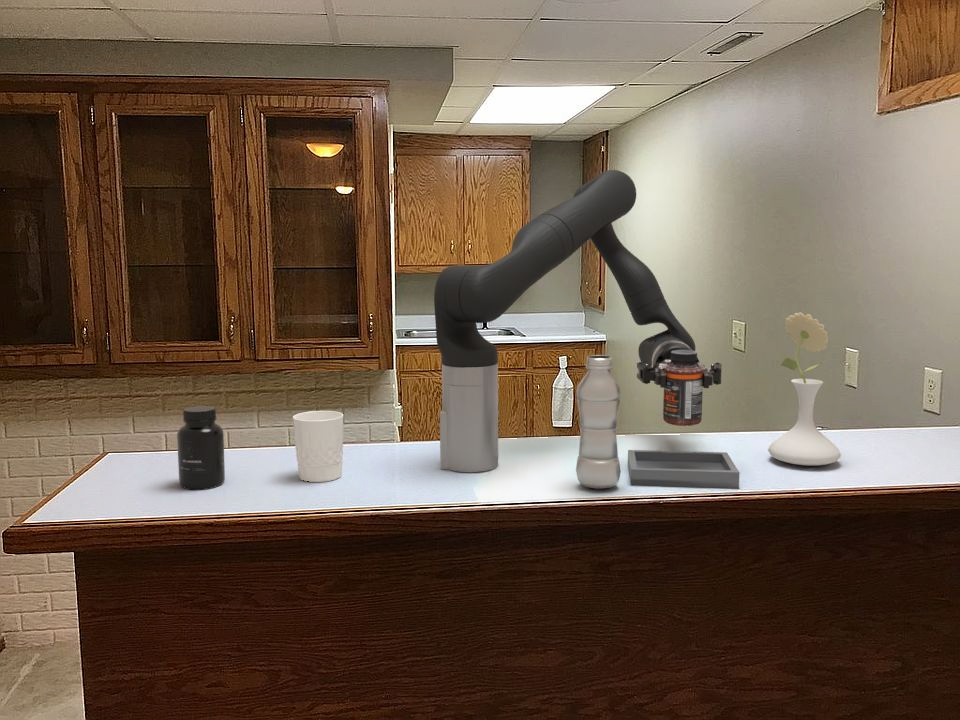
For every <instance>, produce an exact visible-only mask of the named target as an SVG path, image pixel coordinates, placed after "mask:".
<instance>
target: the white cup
mask: <svg viewBox="0 0 960 720" xmlns="http://www.w3.org/2000/svg"><path fill="white" fill-rule="evenodd" d="M292 421H293V423H292V424H293V434H294V435H293V436H294V446H295V452H296V454H295V455H296V456H295V457H296V462H297V470H298V471H297V472H298V478H299V479H300V480H301V481H303V480H304V481H303V482H307V481H309V482H308V483H310V482H311V483H322V482H323V483H325V482H330V481H335V480H338V479H340V478H341V476H342V475H343V461H342V460H343V455H344V451H343V450H344V449H343V448H344V414H343V413H342V412H340V411H336V410H335V411H334V410H310V411H305V412H300V413H297V414H294V415H293V416H292Z"/></svg>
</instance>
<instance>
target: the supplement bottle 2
mask: <svg viewBox="0 0 960 720" xmlns="http://www.w3.org/2000/svg"><path fill="white" fill-rule="evenodd" d="M697 357H698V351H696V350H695V351H692V350H674V351H671V358H670V359H671V361H670V363H669V364H668V365H667V366H666V367H665V369H664V372H665V374H666V385H665V388H663V401H662V402H663V405H662V406H663V408H662V417H663V421H664V422H665V423H667V424H669V425H673V426H678V427H679V426H681V427H686V426H688V427H689V426H690V427H691V426H696V425H698V424H700V423H701V422H702V419H703V418H702V415H703V392H704V391H703V388H704V387H703V369H702V367H701V366H700V365H699V364H698V363H697Z"/></svg>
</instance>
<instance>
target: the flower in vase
mask: <svg viewBox="0 0 960 720" xmlns="http://www.w3.org/2000/svg"><path fill="white" fill-rule="evenodd" d="M784 325H785V327H784V330H785V332H786V333H788V337H789V338H790V339H792V341H793V343H794V344H795V345H797V347H796V351H795V358H794V359H793V358H791V357H790V356H786V357H785V358H784V359H783V361H782V362H781V364H780V366H782V367H785V368H787V369H789V370H791V371H796V370H797V369H798V371H799V373H800V375H801V376H800V377H801V378H794V379H791V381H790V383H792V385H793V386H794V388H795V391H796V395H797V398H798V416H797V421H796V422H795V425H793V427H792V428H791V429H789V430H788V431H786V432H785V433H782V434H781V435H780V436H779V437H777V438H776V439H775V440H774V441H772V442H771V443H770V444H769V446H768V448H767V452H768V454H769V455H770V456H771V457H772V458H775V459H776V460H779V461H781V462H784V463H787V464H792V465H799V466H827V465H830V464H832V463H836V462H837V461H838V460H839V459H840V458H841V457H842V455H841V452H840V450H839V448H838V447H837V446H836V444H834V443H833V442H832V441H831V440H830V439H829V438H828V437H827V436H825V435H824V434H823V433H822V432H821V431H819V429H818V428H817V427H816V425H815V423H814V405H815V400H816V396H817V393H818V392H819V390H820V388H821V387H822V385H823V384H824V381H823V380H820V379H814V378H805V375H804V373H806V372H809V371H811V370H814V369H815V368H817V367H818V366H820V365H821V364H822V363H823V360H821V361H820V362H819V363H818V364H816V365H812V366H810V367H807V368H805V370H804V371H802V369H801V366H800V364H799V360H798V355H799V352H800V348H801V349H805V350H806V351H807V352H811V353H815V354H816V353H817V352H822V351H823V350H827V348H828V346H827V344H828V342H829V336H828V334H829V333H828V332H827V331H825V325H824V324H822V323H820V321H819V320H818V319H817V318H813V316H812V315H811V314H810V313H807V314H806V315H805V314H804V313H802V312H801V311H799V312H795V313H794V314H792V315H788V317H786V318H785V323H784Z"/></svg>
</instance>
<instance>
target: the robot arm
mask: <svg viewBox="0 0 960 720" xmlns="http://www.w3.org/2000/svg"><path fill="white" fill-rule="evenodd" d="M636 200H637V188H636V183H634V180H633V179H632V178H631V176H629V175H628V174H627V173H625V172H623V171H620V170H618V169H617V170H616V169H610V170H606V171H605V170H604V171H603V172H601V173H599V174H597V175H596V176H595V177H593V178H591V179H590V180H589V181H588V182H586V183H584V184H583V185H581V186H580V187H578V189H576V191H575V192H574V194H573V197H571V198H570V199H567V200H565V201H563V202H561V203H559V204H557V205H554V206H553V207H551V208H550V209H547V210H546V211H543V212H542V213H540V214H539V215H537V216H536V217H534V218H533V219H532V220H530V221H528V222H527V223H526V224H524V225H523V226H522V227H520V229H519V230H518V231H517V232H516V234H515V235H514V238H513V241H512V245H511V251H510V252H509V253H508V254H506V255H504V256H502V258H500V259H498V260H496V261H494V262H492V263H489V264H484V265H477V264H475V265H474V264H473V265H470V264H469V265H468V264H466V265H465V264H464V265H463V264H461V265H460V264H457V265H456V264H454V265H450V266H446V267H445V268H444V269H442V271H441V272H440V273H439V275H438V276H437V279H436V282H435V285H434V293H433V301H434V302H433V303H434V305H433V307H434V308H433V309H434V320H435V334H436V336H435V337H436V344H437V348H438V351H439V353H440V357H441V383H442V384H441V392H442V393H441V397H442V401H441V402H442V405H441V406H442V407H441V408H442V409H441V410H440V412H439V437H440V438H439V445H440V446H439V448H440V449H439V450H440V451H439V453H440V455H439V456H440V461H439V462H440V469H442V470H443V469H444V470H450V471H454V472H461V473H477V472H485V471H486V472H487V471H491V470H493V469H496V468H497V467H498V466H499V368H498V367H499V364H498V362H499V361H498V360H499V357H498V356H499V355H498V349H497V347H496V344H495V345H494V344H493V343H491V342H490V341H489V340H487V339H486V338H484V337H483V335H481V333H480V332H479V330H478V327H477V324H486V323H491V322H493V321H496V320H497V319H498V318H500V317H501V316H502V315H503V314H505V312H507V310H509V309H510V308H511V306H512V305H514V303H515V302H517V300H519V298H520V297H522V295H523V294H524V293H525V292H527V290H528V289H529V288H530V287H532V286H533V285H535V284H536V283H537V282H538V281H540V280H541V279H542V278H543V277H545V276H546V275H547V274H549V272H551V271H552V270H554V269H556V268H557V267H558V266H559V265H561V264H562V263H563V262H565V261H566V260H567V259H569V258H570V257H571V256H572V255H573V254H574V253H576V252H577V251H578V250H579V249H580V248H581V247H582V246H583V245H585V243H587V242H588V241H589V240H590V241H592V243H593V245H594V247H595V248H596V250H597V251H598V253H599V254H600V256H601V257H602V259H603V261H604V262H605V264H606V265H607V267H608V268H609V270H610V272H611V274H612V276H613V277H614V279H615V281H616V283H617V285H618V287H619V289H620V292H621V294H622V296H623V298H624V300H625V301H624V302H625V303H626V306H627V307H628V309H629V312H630V314H631V317H632V319H633V321H634V323H635V324H636V325H638V326H647V325H652V324H662V325H664V326H665V327H666V328H667V329H666V330H664V331H661V332H659V333H657V334H654V335H652V336H649V337H647V338H645V339H644V340H642V341H641V342H640V343H639V346H638V352H637V353H638V358H639V362H636V379H638V380H639V381H640V382H641V383H642V384H644V385H648V384H651V381H652V382H653V383H654V384H655V385H657V386H659V387H660V388H661V389H662V388H663V389H664V388H665V385H666V374H665V372H664V369H665V367H666V366H667V365H668V364H669V363H670V361H671V359H670V358H671V351H674V350H692V351H696V344H695V341H694V339H693V337H692V336H691V334H690V333H689V331H687V330H686V328H685V327H684V325H682V323H680V321H679V320H678V319H677V317H676V316H675V315H674V313H673V311H672V309H671V308H670V306H669V304H668V302H667V300H666V298H665V296H664V293H663V292H662V289H661V286H660V284H659V282H658V280H657V278H656V276H655V275H654V273H653V271H652V270H651V269H650V268H649V267H648V265H646V263H644V262H643V261H642V260H641V259H639V258H638V257H637V256H635V255H634V254H633V253H632V252H631V251H630V250H628V249H627V247H625V245H624V244H623V243H622V242H621V241H620V239H619V238H618V236H617V234H616V232H615V229H614V226H613V224H612V223H614V222H615V221H617V220H619V219H620V218H622V217H624V216H625V215H628V214H629V212H631V210H632V209H633V208H634V206H635V203H636ZM697 363H698V364H699V365H700V366H701V367H702V369H703V388H704V389H709V388H710V386H713V385H716V386H718V385H721V384H722V367H723V366H722V363H720V362H714V363H713V364H711V365H710V366H709V367H707V366H706V365H705V364H704V363H701V362H700V360H699V358H698V356H697Z"/></svg>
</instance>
